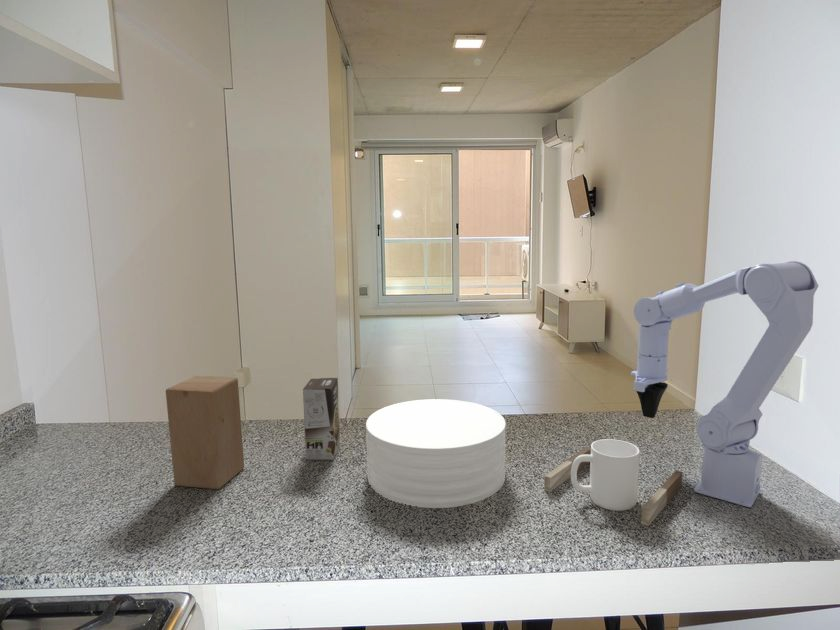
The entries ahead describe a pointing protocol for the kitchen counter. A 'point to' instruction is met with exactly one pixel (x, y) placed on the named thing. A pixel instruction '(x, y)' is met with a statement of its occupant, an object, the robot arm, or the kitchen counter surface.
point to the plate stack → (436, 452)
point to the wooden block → (205, 431)
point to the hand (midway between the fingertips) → (649, 416)
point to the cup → (610, 474)
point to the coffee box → (321, 418)
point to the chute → (648, 509)
